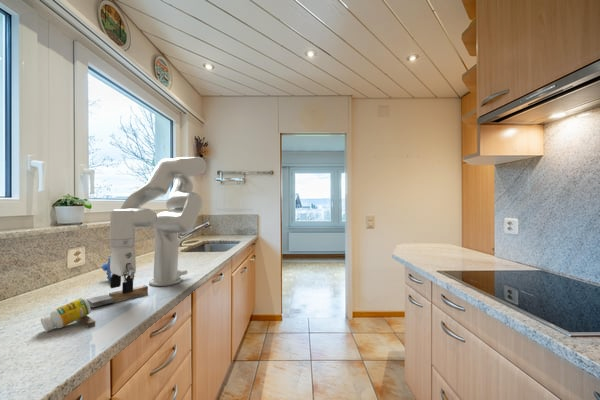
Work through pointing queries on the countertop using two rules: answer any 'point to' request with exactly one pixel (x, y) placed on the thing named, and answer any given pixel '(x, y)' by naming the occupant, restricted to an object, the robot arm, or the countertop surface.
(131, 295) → the turner
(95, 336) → the countertop surface
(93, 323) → the stop strip
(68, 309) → the supplement bottle
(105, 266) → the grapes
